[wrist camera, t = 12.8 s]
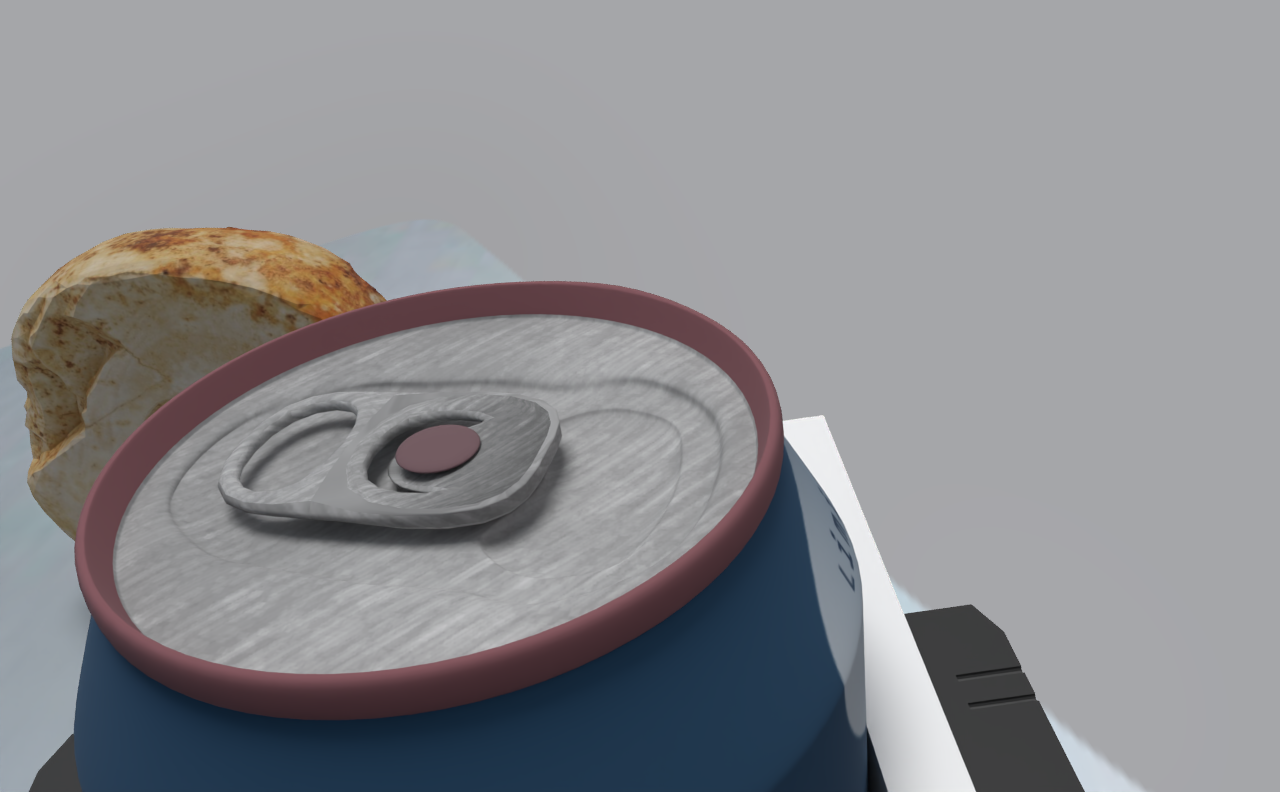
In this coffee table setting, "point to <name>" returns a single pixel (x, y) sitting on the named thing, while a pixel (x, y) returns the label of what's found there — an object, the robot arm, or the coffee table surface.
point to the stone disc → (154, 336)
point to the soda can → (472, 564)
